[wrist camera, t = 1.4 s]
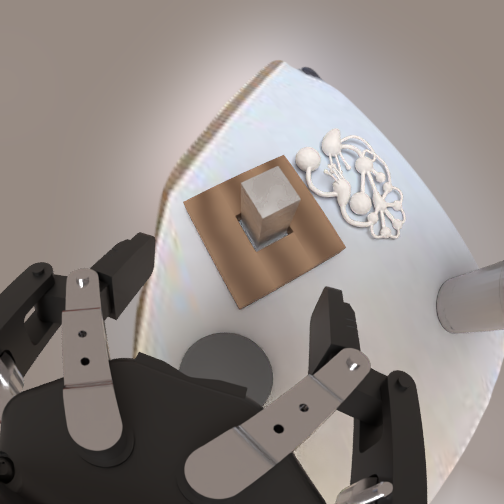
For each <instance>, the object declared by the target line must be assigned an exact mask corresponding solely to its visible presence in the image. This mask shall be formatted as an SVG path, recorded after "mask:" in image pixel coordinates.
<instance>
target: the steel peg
mask: <svg viewBox="0 0 504 504" xmlns="http://www.w3.org/2000/svg"><path fill="white" fill-rule="evenodd" d="M300 200H301V199H300V197H299V196H298V194H297V193H296V191H295V190H294V188H293V187H292V185H291V184H290V182H289V181H288V179H287V178H286V176H285V175H284V174H283V172H282V171H281V169H280V168H279V166H277V167H274V168H272V169H270V170H268V171H266V172H263V173H261V174H259V175H257V176H255V177H252V178H250V179H248V180H246V181H244V182H242V183H241V225H242V226H243V228H244V230H245V231H246V233H247V235H248V237H249V238H250V240H251V242H252V244H253V245H254V247H255V249H256V250H257V251H258V250H260V249H262V248H264V247H266V246H267V245H269V244H271V243H273V242H275V241H277V240H279V239H280V238H282V237H284V236H285V234H286V232H287V230H288V228H289V225H290V223H291V221H292V218H293V216H294V214H295V212H296V209H297V207H298V205H299V202H300Z"/></svg>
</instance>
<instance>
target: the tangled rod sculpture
mask: <svg viewBox="0 0 504 504" xmlns="http://www.w3.org/2000/svg"><path fill="white" fill-rule="evenodd" d="M350 138H357V139H359V140H361V141H363V142H364V143H365V144H366V145H367V146H368V147H369V149H370V150H371V151H370V150H368V149H367V150H364V151H363V152H361V151H360V150H359V149H358V148H356V147H354V146H352V145H346V144H343V145H341V142H343V141H345V140H347V139H350ZM341 149H350V150H353V151H355V152H356V153H357V154H358V155H359V158H358V159H357V160H356V163H355V167H356V170H357V171H358V172H359V173H360V174H361V192H358V193H355V194H354V195H353V196H352V197H351V199H350V208H351V209H352V211H353V212H354V213H356V214H359V215H363V214H366V213H368V212H369V211H370V208H371V205H372V203H371V199H370V197H369V196H368V195H367V194H365V193H364V191H365V175H366V174H367V175H368V178H369V181H370V183H371V186H372V189H373V191H374V193H373V198H372V201H373V204H374V207H375V212H372V213H369V214H368V216H367V220H368V222H358V221H354V220H352V219H350V217H349V216H348V215H347V213H346V209H345V206H346V204H347V203H348V201H349V198H350V193H351V186H350V183H349V182H348V181H347V180H345V178H344V177H343V175H342V173H343V171H342V170H341V166H340V163H339V160H338V157H337V156H338V155H340V157H341V159H342V160H343V162H344V163H345V165H346V166H347V167H346V168H347V170H351V166H350V165H348V164H347V162H346V161H345V159H344V157H343V156H342V154H341ZM322 150H323V152H324V153H325V154H326V155H327V156H329V159H330V163H331V164H328V168H330V170H329V172H330V173H329V172H328V170H327V169H325V170H324V173H325V174H329V175H330V176H331V177H332V178H333V179H334V180H335V182H334V183H333V189H334V192H322V191H320V190H318V189H317V188H315V187H314V185H313V184H312V181H311V171H314V170H316V169H317V168H318V167H319V165H320V162H321V157H320V155H319V153H318V151H316V150H315V149H313V148H311V147H305V148H302V149H300V150H299V151H298V153H297V154H296V164H297V166H298V167H299V168H300V169H301V170H303V171H306V181H307V184H308V187H309V188H310V190H312V191H313V192H314V193H316V194H317V195H319V196H322V197H334V196H337V199H338V204H339V206H340V208H341V213H342V216H343V217H344V219H345V220H346V221H347V222H348V223H349V224H351V225H354V226H358V227H368V226H370V230H371V234H372V235H373V237H375V238H389V237H391V238H394V239H396V238H398V237H399V236H400V229H401V228H402V225H403V223H404V222H405V220H406V216H405V213H404V211H403V209H402V201H403V194H402V192H401V190H400V189H399V188H397V187H394V186H392V184H391V176H390V172H389V169H388V167H387V165H386V163H385V162H384V161H383V160H382V159H381V158H380V157H379V156H378V155H377V154H375V152H374V150H373V149H372V147H371V146H370V145H369V143H368V142H367V141H365V140H364V139H363V138H361V137H359V136H354V135H351V136H348V137H345V138H343V139H340V130H339V129H332V130H331V131H329V132H328V133H327V134H326V135H325V136H324V139H323V142H322ZM365 152H368V153H370V154H372V155H373V157H374V158H373V159H372V160H371V159H369V158H368V157H365ZM332 156H335V158H336V161H337V164H338V168H339V170H338V169H337V168H336V165H335V164H333V162H332ZM376 158H377V159H379V160H380V161H381V162H382V163H383V165H384V166H385V168H386V171H387V175H388V182H386V183H384V184H383V190H384V191H385V192H384V194H383V196H382V197H381V195H380V194H379V192H377V189H376V186H375V184H374V181H373V178H372V176H371V173H370V172H372V173H374V174H375V175H376V180H377V181H378V182H380V183H382V182H384V181H385V179H386V177H385V174H384V173H382V172H379V173H378V172H376V171H375V170H374V169H373V162H374V161H375V160H376ZM333 168H334V169H335V170H336V171H337V172H338V174H340V176H341V178H340V177H339V175H338V174H337V173H336V172H335V170H334V169H333ZM333 173H334V174H335V175H336V176H337V178H338V180H337V179H336V178H335V177H334V176H333V175H332V174H333ZM393 189H395V190H397V191H398V192H399V193H400V196H401V199H400V201H398V200H396V201H394V202H393V203H386V201H385V200H384V199H385V198H386V196H387V194H388V193H389V192H391V191H392V190H393ZM387 207H393V209H394V210H395V211H399V210H401V212H402V215H403V221H401V220H400V219H395V218H394V217H393V216H392V215H391V213H390V212H389V211H388V210H387V209H386V208H387ZM379 211H380V215H381V223H382V229H381V231H380V234H381V235H380V236H377V235H375V234H374V231H373V224H375V223H377V221H378V212H379ZM384 213H385V214H386V215H387V216H388V217H389V219H390V220H391V221H392V222H393V223H392V225H393V228H394V229H396V230H397V236H393V235H391V230H390V229H389V228H388V227H386V225H385V218H384Z"/></svg>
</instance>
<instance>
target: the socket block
mask: <svg viewBox="0 0 504 504" xmlns="http://www.w3.org/2000/svg"><path fill="white" fill-rule="evenodd" d="M277 166H279V168H280V169H281V171H282V172H283V174H284V175H285V176H286V178H287V179H288V181H289V182H290V184H291V185H292V187H293V188H294V190H295V191H296V193H297V194H298V196H299V197H300V199H301V200H300V202H299V205H298V207H297V209H296V212H295V214H294V216H293V218H292V221H291V223H290V225H289V228H288V230H287V233H288V235H287V236H285V237H283V238H282V239H280V240H278V241H276V242H274V243H272V244H270V245H268V246H267V247H265V248H263V249H261V250H259V251H257V252H256V251H255V249H254V248H253V246H252V244H251V243H250V241H249V239H248V237H247V236H246V234H245V232H244V230H243V229H242V227H241V225H240V224H239V222H238V221H239V220H241V183H242V182H244V181H246V180H248V179H250V178H252V177H255V176H257V175H259V174H261V173H263V172H266V171H268V170H270V169H272V168H274V167H277ZM183 203H184V205H185V208H186V210H187V212H188V214H189V216H190V218H191V220H192V221H193V223H194V225H195V227H196V229H197V231H198V233H199V235H200V237H201V239H202V241H203V243H204V245H205V246H206V248H207V250H208V252H209V254H210V256H211V258H212V260H213V262H214V263H215V265H216V267H217V269H218V271H219V273H220V275H221V276H222V278H223V280H224V282H225V284H226V286H227V287H228V289H229V291H230V293H231V295H232V296H233V298H234V300H235V302H236V304H237V306H238V307H239V309H242V308H244V307H246V306H248V305H250V304H251V303H253V302H255V301H257V300H259V299H260V298H262V297H264V296H266V295H268V294H269V293H271V292H273V291H275V290H276V289H278V288H280V287H282V286H284V285H285V284H287V283H289V282H291V281H292V280H294V279H296V278H297V277H299V276H301V275H303V274H304V273H306V272H308V271H310V270H311V269H313V268H315V267H316V266H318V265H320V264H321V263H323V262H325V261H326V260H328V259H330V258H331V257H333V256H335V255H336V254H338V253H340V252H341V251H342V250H344V249H345V248H346V247H345V245H344V244H343V242H342V240H341V239H340V237H339V236H338V234H337V232H336V231H335V229H334V228H333V226H332V224H331V223H330V221H329V220H328V218H327V217H326V215H325V214H324V212H323V211H322V209H321V208H320V206H319V205H318V203H317V202H316V200H315V199H314V197H313V196H312V194H311V193H310V191H309V190H308V188H307V187H306V185H305V184H304V182H303V181H302V180H301V178H300V177H299V175H298V174H297V172H296V171H295V170H294V168H293V167H292V165H291V164H290V163H289V161H288V160H287V158H286V157H285V156H284V155H283V156H280V157H278V158H276V159H273V160H271V161H269V162H266V163H264V164H262V165H260V166H257V167H255V168H253V169H251V170H249V171H246V172H244V173H242V174H240V175H238V176H236V177H233V178H231V179H229V180H227V181H225V182H223V183H221V184H219V185H217V186H215V187H213V188H210V189H208V190H206V191H204V192H202V193H200V194H198V195H196V196H194V197H192V198H190V199H188V200H187V201H185V202H183Z"/></svg>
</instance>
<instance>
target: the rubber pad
mask: <svg viewBox="0 0 504 504" xmlns="http://www.w3.org/2000/svg"><path fill="white" fill-rule="evenodd" d="M179 371H180V372H182V373H183V374H185V375H187V376H189V377H194V378H204V379H215V380H222V381H225V382H229V383H232V384H236V385H240V386H243V387H247V392H246V396H248V397H250V398H252V399H253V400H255V401H256V402H257V403H259V404H260V405H261V406H263V405H264V403H265V402H266V400H267V399H268V397H269V395H270V392H271V388H272V383H273V373H272V368H271V365H270V362H269V360H268V358H267V356H266V355H265V353H264V352H263V351H262V350H261V348H260V347H259V346H258V345H256V344H255V343H254V342H253V341H251V340H250V339H248V338H246V337H243V336H241V335H237V334H233V333H217V334H212V335H209V336H206V337H204V338H202V339H200V340H199V341H197V342H196V343H194V344H193V345H192V346H191V347H190V348H189V349H188V351H187V352H186V353H185V355H184V357H183V359H182V362H181V365H180V369H179Z"/></svg>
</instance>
